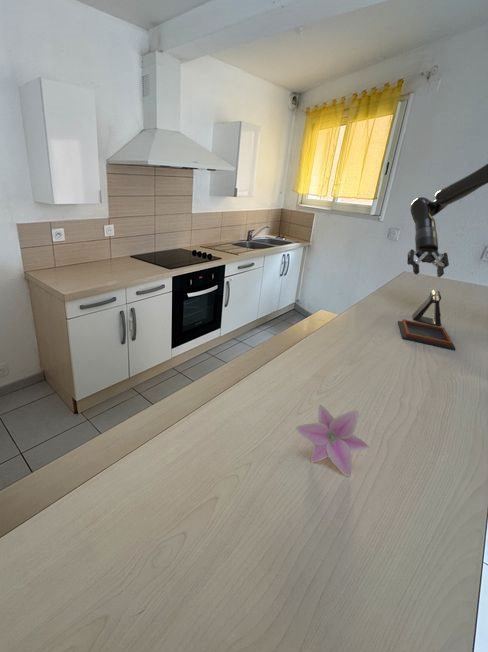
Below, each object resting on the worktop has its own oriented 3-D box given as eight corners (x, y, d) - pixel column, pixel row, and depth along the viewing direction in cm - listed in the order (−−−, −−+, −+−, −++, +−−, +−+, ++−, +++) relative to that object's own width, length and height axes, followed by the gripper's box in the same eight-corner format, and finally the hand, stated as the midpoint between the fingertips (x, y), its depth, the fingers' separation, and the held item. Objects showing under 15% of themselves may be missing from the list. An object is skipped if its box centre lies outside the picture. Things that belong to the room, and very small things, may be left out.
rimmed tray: (444, 332, 118) (446, 327, 118) (454, 350, 106) (457, 345, 105) (397, 322, 124) (399, 317, 123) (402, 338, 112) (404, 333, 111)
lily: (283, 443, 67) (293, 429, 60) (316, 405, 72) (329, 388, 64) (333, 491, 62) (351, 483, 54) (366, 447, 66) (387, 434, 59)
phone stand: (412, 320, 127) (423, 291, 122) (412, 315, 132) (422, 287, 127) (440, 326, 123) (452, 297, 118) (439, 321, 127) (450, 292, 123)
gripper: (412, 233, 133) (414, 268, 128) (450, 237, 131) (454, 273, 125) (403, 243, 140) (404, 276, 135) (439, 246, 138) (442, 281, 132)
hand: (428, 274), depth 130 cm, fingers open, 8 cm apart
